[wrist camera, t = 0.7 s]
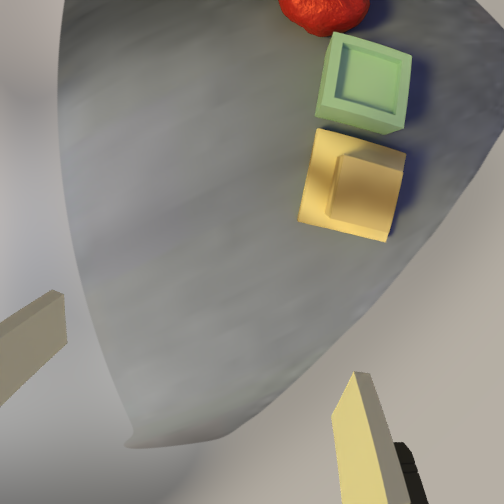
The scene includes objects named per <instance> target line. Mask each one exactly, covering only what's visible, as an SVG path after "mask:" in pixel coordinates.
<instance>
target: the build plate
mask: <svg viewBox="0 0 504 504" xmlns="http://www.w3.org/2000/svg"><path fill="white" fill-rule="evenodd" d="M405 158H406V153H403V152H400V151H397V150H394V149H391V148H387V147H384V146H381V145H378V144H375V143H371V142H368V141H365V140H361V139H358V138H354V137H351V136H347V135H343V134H339V133H336V132H332V131H328V130H324V129H320V128H318V129H317V130H316V134H315V139H314V144H313V149H312V154H311V159H310V164H309V168H308V173H307V178H306V182H305V187H304V191H303V196H302V201H301V205H300V210H299V214H298V218H297V220H298V222H303V223H307V224H311V225H316V226H320V227H324V228H329V229H333V230H337V231H341V232H345V233H350V234H354V235H358V236H362V237H366V238H370V239H374V240H378V241H382V242H386V240H387V236H388V233H389V231H390V227H391V223H392V219H393V215H394V211H395V207H396V203H397V199H398V195H399V190H400V186H401V181H402V176H403V168H404V163H405Z"/></svg>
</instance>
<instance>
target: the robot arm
mask: <svg viewBox="0 0 504 504" xmlns="http://www.w3.org/2000/svg"><path fill="white" fill-rule="evenodd" d="M66 344H67V333H66V321H65V306H64V294H62V293H59V292H57V291H54V290H51V291H49V292H47V293H46V294H44V295H43V296H41V297H40V298H38V299H36V300H35V301H33V302H31V303H30V304H28V305H27V306H25V307H24V308H22V309H20V310H19V311H18V312H16V313H14V314H13V315H11V316H10V317H8V318H7V319H5V320H4V321H2V322H1V323H0V407H1V406H2V405H3V404H4V403H5V402H6V401H7V400H8V399H9V398H10V397H11V396H12V395H13V394H14V393H15V392H16V391H17V390H18V389H19V388H20V387H21V386H22V385H23V384H24V383H25V382H26V381H27V380H28V379H29V378H30V377H32V375H34V374H35V373H36V372H37V371H38V370H39V369H40V368H41V367H42V366H43V365H44V364H45V363H46V362H47V361H49V360H50V359H51V358H52V357H53V356H54V355H55V354H56V353H57V352H58V351H59V350H60V349H62V348H63V347H64V346H65V345H66ZM331 419H332V425H333V432H334V440H335V447H336V454H337V462H338V470H339V478H340V487H341V496H342V504H429V503H428V501H427V498H426V495H425V491H424V488H423V485H422V482H421V479H420V476H419V473H417V472H418V470H417V467H416V465H415V461H414V458H413V455H412V452H411V451H410V450H409V448H408V447H407V446H406V445H405V444H404V443H403V442H393V440H392V437H391V434H390V431H389V428H388V425H387V422H386V419H385V416H384V413H383V410H382V407H381V404H380V401H379V398H378V395H377V392H376V390H375V387H374V384H373V381H372V378H371V376H370V374H369V373H362V372H355V371H354V372H353V374H352V376H351V378H350V380H349V382H348V384H347V387H346V388H345V390H344V392H343V394H342V396H341V399H340V401H339V402H338V404H337V406H336V408H335V410H334V412H333V414H332V416H331Z"/></svg>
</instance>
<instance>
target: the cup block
mask: <svg viewBox="0 0 504 504" xmlns="http://www.w3.org/2000/svg"><path fill="white" fill-rule="evenodd" d="M411 62H412V56H411V55H408V54H406V53H403V52H400V51H398V50H395V49H392V48H389V47H386V46H383V45H380V44H377V43H374V42H370V41H367V40H364V39H360V38H357V37H353V36H350V35H346V34H342V33H338V32H333V35H332V38H331V40H330V43H329V46H328V48H327V51H326V55H325V61H324V67H323V73H322V78H321V84H320V90H319V95H318V101H317V106H316V112H315V117H319V118H324V119H328V120H332V121H336V122H340V123H344V124H347V125H351V126H355V127H358V128H362V129H365V130H369V131H372V132H376V133H379V134H382V135H386V134H389V133H392V132H395V131H398V130H401V129H404V123H405V116H406V109H407V101H408V93H409V84H410V74H411Z"/></svg>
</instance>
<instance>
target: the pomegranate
mask: <svg viewBox="0 0 504 504" xmlns="http://www.w3.org/2000/svg"><path fill="white" fill-rule="evenodd" d="M278 1H279V4H280V7H281V10H282V12H283V13H284V15H285V16H286V17H288V18H289V19H290V20H291V21H292V22H295V23H296V24H298V25H299V26H301V27H303V28H304V29H305V30H306V31H307V32H308V33H310V34H313V35H316V36H318V37H326V36H331V35H333V32H338V33H343V32H346V31H348V30H349V29H351V28H353V27H355V26H357V25H358V24H359V23H360V22H361V21H362V20H363V19H364V17H365V15H366V14H367V12H368V9H369V6H370V1H369V0H278Z"/></svg>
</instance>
